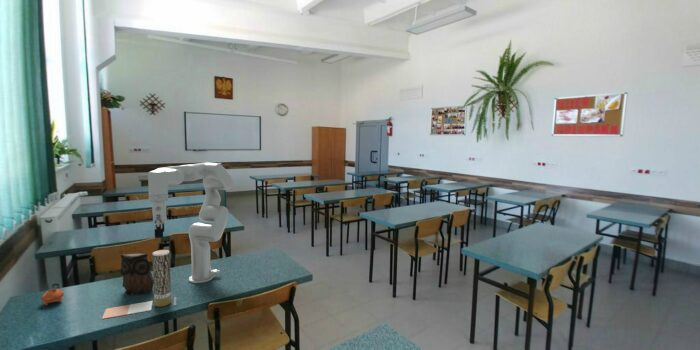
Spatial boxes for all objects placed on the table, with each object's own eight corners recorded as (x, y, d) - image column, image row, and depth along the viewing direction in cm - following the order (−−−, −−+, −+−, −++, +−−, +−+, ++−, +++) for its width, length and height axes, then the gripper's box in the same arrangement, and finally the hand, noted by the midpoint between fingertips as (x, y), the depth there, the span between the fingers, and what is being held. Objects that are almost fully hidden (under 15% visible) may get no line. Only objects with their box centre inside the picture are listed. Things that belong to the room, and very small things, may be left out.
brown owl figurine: (155, 291, 165) (153, 253, 163) (125, 299, 157) (122, 259, 154) (149, 283, 174) (147, 247, 172) (120, 290, 166) (118, 252, 164)
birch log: (160, 299, 157) (158, 249, 155) (174, 300, 157) (172, 250, 155) (151, 307, 151) (149, 254, 148) (165, 307, 151) (163, 255, 148)
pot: (69, 296, 158) (66, 285, 156) (58, 308, 151) (55, 296, 148) (50, 297, 156) (47, 285, 154) (38, 309, 149) (35, 296, 147)
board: (176, 297, 160) (176, 296, 160) (176, 305, 152) (176, 305, 152) (106, 309, 148) (106, 308, 148) (101, 319, 140) (101, 318, 140)
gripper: (167, 200, 142) (168, 239, 144) (168, 194, 158) (169, 229, 159) (147, 201, 139) (148, 241, 141) (150, 195, 154) (151, 230, 156)
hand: (159, 234), depth 150 cm, fingers open, 9 cm apart
